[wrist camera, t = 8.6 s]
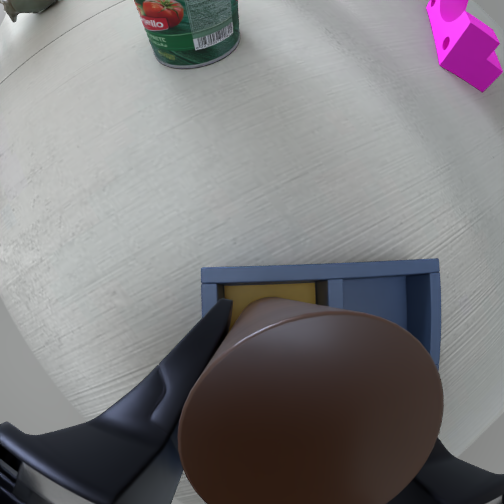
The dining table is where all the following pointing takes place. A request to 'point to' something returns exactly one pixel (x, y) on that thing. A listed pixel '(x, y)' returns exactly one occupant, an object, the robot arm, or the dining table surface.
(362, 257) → the dining table surface
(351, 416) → the brown wooden dowel
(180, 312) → the dining table surface
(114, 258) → the dining table surface
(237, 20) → the canned tomato
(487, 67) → the toy block
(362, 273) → the grid
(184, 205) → the dining table surface
